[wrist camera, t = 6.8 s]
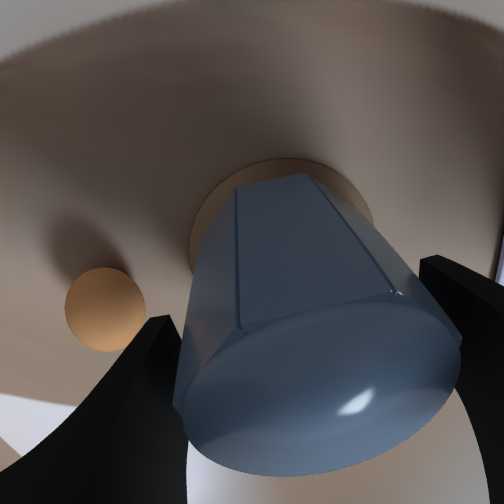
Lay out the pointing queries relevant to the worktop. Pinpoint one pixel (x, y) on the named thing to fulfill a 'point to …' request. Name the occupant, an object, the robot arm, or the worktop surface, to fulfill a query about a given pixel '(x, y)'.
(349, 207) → the cup
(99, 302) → the ball
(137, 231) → the worktop surface
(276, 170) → the disc
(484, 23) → the worktop surface
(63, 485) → the robot arm
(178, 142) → the worktop surface
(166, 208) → the worktop surface
